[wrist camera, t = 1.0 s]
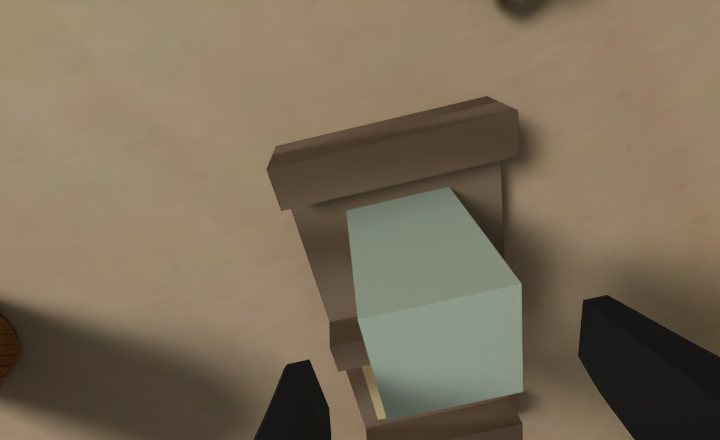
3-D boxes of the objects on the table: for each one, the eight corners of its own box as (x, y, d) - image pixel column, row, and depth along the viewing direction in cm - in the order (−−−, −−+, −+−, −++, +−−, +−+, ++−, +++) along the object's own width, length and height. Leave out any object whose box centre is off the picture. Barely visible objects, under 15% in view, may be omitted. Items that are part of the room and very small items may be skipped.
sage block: (458, 270, 16) (522, 391, 11) (367, 290, 16) (387, 420, 11) (449, 186, 14) (521, 283, 9) (346, 210, 14) (357, 320, 9)
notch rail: (506, 473, 26) (523, 515, 24) (392, 496, 26) (398, 540, 24) (487, 96, 14) (518, 110, 12) (276, 146, 14) (266, 169, 12)
